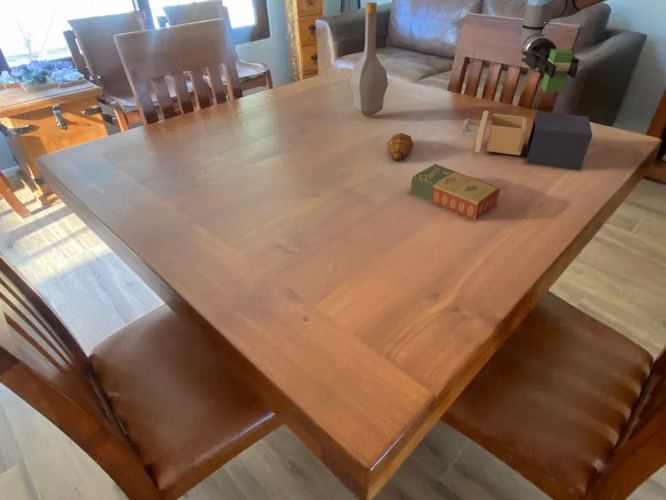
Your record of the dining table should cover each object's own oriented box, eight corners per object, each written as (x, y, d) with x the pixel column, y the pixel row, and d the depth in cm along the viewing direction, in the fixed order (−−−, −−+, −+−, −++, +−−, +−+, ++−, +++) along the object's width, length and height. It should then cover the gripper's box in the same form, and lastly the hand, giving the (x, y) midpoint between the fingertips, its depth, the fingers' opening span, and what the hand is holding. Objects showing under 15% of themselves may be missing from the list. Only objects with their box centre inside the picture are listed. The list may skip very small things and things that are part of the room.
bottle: (341, 116, 129) (340, 3, 111) (368, 107, 135) (371, -2, 117) (367, 126, 122) (371, 8, 104) (394, 117, 128) (402, 2, 110)
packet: (557, 87, 120) (568, 48, 114) (562, 91, 116) (574, 52, 110) (540, 87, 120) (550, 48, 114) (544, 91, 117) (555, 52, 111)
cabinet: (526, 163, 102) (535, 128, 97) (527, 144, 111) (536, 111, 105) (579, 170, 99) (592, 134, 94) (576, 150, 107) (588, 116, 102)
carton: (474, 221, 83) (478, 202, 81) (409, 192, 93) (410, 174, 90) (496, 204, 88) (501, 186, 85) (432, 179, 97) (434, 161, 94)
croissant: (411, 164, 103) (412, 145, 100) (383, 162, 104) (384, 143, 101) (414, 142, 113) (416, 123, 110) (389, 140, 115) (390, 122, 112)
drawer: (457, 149, 107) (461, 123, 103) (463, 134, 115) (467, 108, 110) (519, 157, 103) (526, 130, 98) (521, 141, 110) (528, 115, 106)
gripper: (566, 64, 130) (595, 87, 112) (506, 63, 132) (525, 86, 114) (574, 37, 126) (605, 56, 107) (512, 37, 127) (532, 56, 109)
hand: (564, 72), depth 110 cm, fingers closed on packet, 5 cm apart
